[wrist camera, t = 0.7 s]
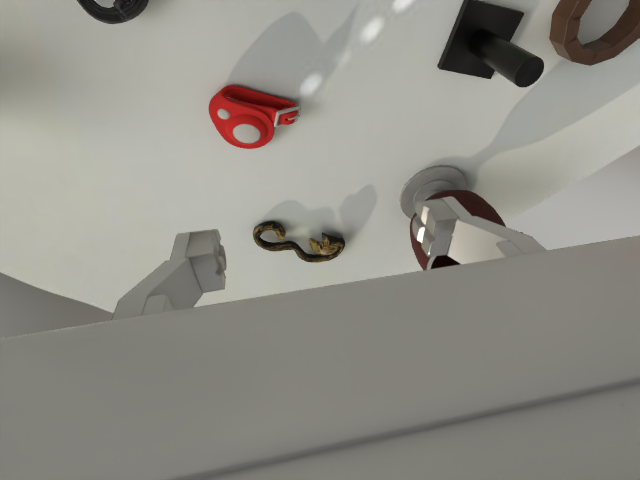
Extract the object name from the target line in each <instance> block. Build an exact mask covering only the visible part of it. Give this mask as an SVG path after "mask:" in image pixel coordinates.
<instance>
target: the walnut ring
mask: <svg viewBox="0 0 640 480" xmlns="http://www.w3.org/2000/svg"><path fill="white" fill-rule="evenodd" d="M591 1H592V0H560V2H559V4H558V6H557V7H556V9H555V11H554V13H553V16H552V23H551V31H550V41H551V43H552V45H553V46H554V48H555V50H556V52H557V54H558V55H560V56H562V57H564V58H566V59H568V60H570V61H572V62H576V63H581V64H585V65H594V64H597V63H599V62H602V61H605V60H608V59H611V58H614V57H616V56H617V55H618V54H619V53H621V52H622V51H623V50H625V49H626V48H627V47H628V46H630V45H631V44H632V43H634V42H635V41H636V40H637V39H639V38H640V0H630V2H629V6H628V8H627V9H626V11H625V12H624V13H623V15H622V16H621V18H620V19H619V21H618V22H617V24H616V25H615V26H614V27H613V28H612V29H610V30H609V31H608V32H607V33H606V34H604V35H603V36H602V37H601V38H600V39H598V40H596V41H593V42H590V43H588V44H585V45H582V46H581V44H580V42H579V40H578V38H577V35H578V30H579V25H580V19H581V17H582V15H583V14H584V12H585V10H586V9H587V7H588V6H589V4H590V2H591Z"/></svg>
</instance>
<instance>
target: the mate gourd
mask: <svg viewBox="0 0 640 480" xmlns="http://www.w3.org/2000/svg"><path fill="white" fill-rule="evenodd" d="M450 196H451V197H454V198H455V199H456V200H457V201H458V202H459V203H460V204H461V205H462V206H463V207H464V208H465V209H466V210H467V211H468V212H469V213H470V214H471V215H472V216H477V217H480V218H483V219H485V220H488V221H491V222H493V223H496V224H499V225H502V226H504V227H506V226H505V224H504V222H503V220H502V219H501V217H500V216H499V215H498V213H497V212H496V210H495V209H494V208H493V207H492V206H491V205H490V204H488V203H487V202H486V201H485V200H484V199H483V198H481V197H480V196H478V195H477V194H475V193H473V192H470V191H467V182H466V179H465V177H464V175H463V174H462V173H461V172H460V171H459V170H457V169H456V168H454V167H450V166H434V167H430V168H427V169H425V170H423V171H421V172H419V173H417V174H416V175H414V176H413V177H412V178H411V179H410V180H409V181H408V182H407V183H406V184H405V186H404V188H403V189H402V192H401V195H400V206H401V208H402V210H403V212H404V214H405V215H406V216H408V217H409V218H411V219H412V220H411V223H410V237H411V242H412V248H413V250H414V253H415V255H416V258H417V260H418V262H419V264H420V266H421V267H422V269H423V270H429V269H435V268H441V267H448V266H454V265H460V263H459V262H457V261H455V260H454V259H452V258H451V257H449V256H447V255H441V256H433V257H428V256H427V255H426V253H425V252H424V250H423V249H422V247H421V246H422V243H421V242H419V241H417V240H416V238H415V237H414V234H413V230H412V222H413V219H414V217H415V216H416V215H417V214H416V212H415V211H414V209H415V205H416V203H417V202H420V201H427V200H433V199H440V198H444V197H450ZM521 233H522V232H521ZM523 234H524V233H523Z"/></svg>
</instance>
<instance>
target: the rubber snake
mask: <svg viewBox="0 0 640 480" xmlns="http://www.w3.org/2000/svg"><path fill="white" fill-rule="evenodd" d="M267 230H273V231H275V232H276V234H277V236H278V237H279V238H281V239H282V238H284V237H285V235H286V233H285V230H284V228H283V227H282V226H281V225H280V224H278V223H276V222H266V223H262V224H260V225H258V226H256V227H255V228H254V231H253V237H254V240H255V242H256V244H257V245H258V246H260V247H261V248H263V249H266V250H269V251H282V250H294V251H295V252H296V254H297V255H298V257H299V258H301V259H302V260H305V261H307V262H323V261H328V260H331V259H333V258H335V257H337V256H338V255H339V254H341V252H342V251H343V249H344V247H345V240H344V239H343V238H337V237H333V236H330V235H327V234H325V233H322V239H323V240H322V242H318V241H316V240H314V239H312V238H310V239H309V242H310V246H311V248H312V249H313V250H314V251H315V253H317V254H316V255H314V254H307V253H305V252H304V251H303V250H302V249H301V248H300V247H299V245H298V244H296V243H295V242H293V241H281V242H275V243H272V242H267V241H265V240H263V239H261V237H260V235H261V234H262V233H263V232H265V231H267Z"/></svg>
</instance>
